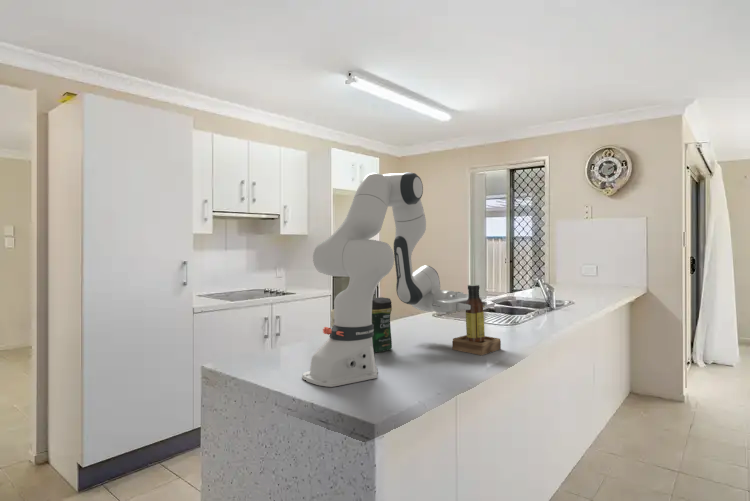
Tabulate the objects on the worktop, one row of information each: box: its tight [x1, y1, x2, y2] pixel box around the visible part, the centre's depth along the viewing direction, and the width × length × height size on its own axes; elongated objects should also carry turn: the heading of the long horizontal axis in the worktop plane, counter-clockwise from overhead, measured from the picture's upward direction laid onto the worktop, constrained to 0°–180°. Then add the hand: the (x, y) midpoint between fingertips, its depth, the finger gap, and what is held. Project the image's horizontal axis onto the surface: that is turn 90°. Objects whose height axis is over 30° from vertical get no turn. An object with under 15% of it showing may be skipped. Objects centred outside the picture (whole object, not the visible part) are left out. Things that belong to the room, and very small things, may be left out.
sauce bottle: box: [465, 284, 486, 342], centre depth 162 cm, size 6×6×20 cm
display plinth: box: [452, 334, 502, 356], centre depth 162 cm, size 12×12×4 cm
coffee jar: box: [372, 296, 393, 353], centre depth 162 cm, size 10×8×19 cm
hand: (478, 305), depth 161 cm, fingers open, 8 cm apart
